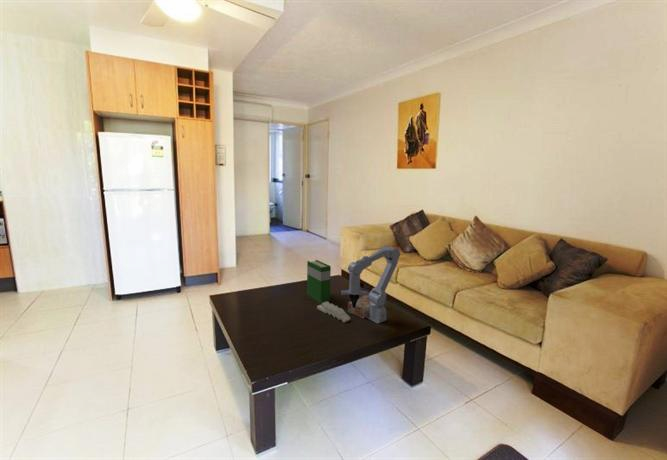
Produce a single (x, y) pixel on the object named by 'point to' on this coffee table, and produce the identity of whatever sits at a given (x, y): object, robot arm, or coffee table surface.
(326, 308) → the domino
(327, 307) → the domino
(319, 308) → the domino
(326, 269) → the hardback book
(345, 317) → the domino
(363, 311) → the stack of blocks
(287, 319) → the coffee table surface
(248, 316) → the coffee table surface
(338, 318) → the domino
